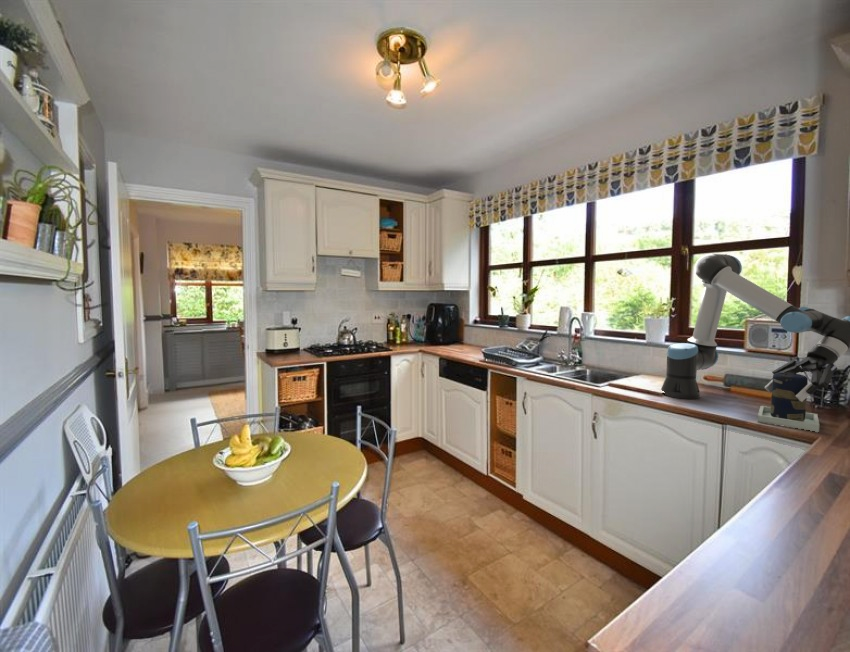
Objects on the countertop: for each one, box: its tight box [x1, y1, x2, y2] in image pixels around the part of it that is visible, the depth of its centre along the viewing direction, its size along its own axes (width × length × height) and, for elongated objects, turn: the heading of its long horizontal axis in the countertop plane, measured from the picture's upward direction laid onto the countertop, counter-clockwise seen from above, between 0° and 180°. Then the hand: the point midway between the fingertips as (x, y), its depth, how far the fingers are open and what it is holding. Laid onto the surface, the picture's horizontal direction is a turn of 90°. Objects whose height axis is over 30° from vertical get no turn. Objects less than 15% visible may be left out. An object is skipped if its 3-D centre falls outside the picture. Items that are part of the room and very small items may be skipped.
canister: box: [770, 372, 809, 422], centre depth 145 cm, size 10×10×18 cm
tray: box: [757, 405, 820, 433], centre depth 146 cm, size 16×16×3 cm
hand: (782, 394), depth 145 cm, fingers open, 11 cm apart
